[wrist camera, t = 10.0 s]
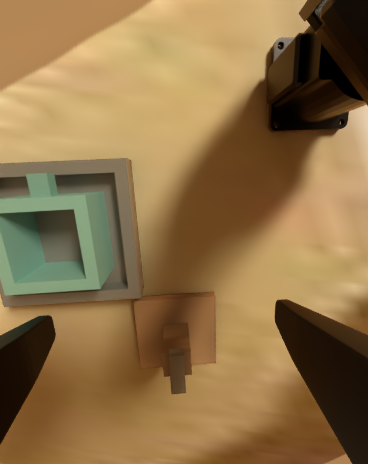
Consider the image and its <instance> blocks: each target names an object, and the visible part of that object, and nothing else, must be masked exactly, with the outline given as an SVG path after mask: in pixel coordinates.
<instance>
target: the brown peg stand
mask: <svg viewBox="0 0 368 464" xmlns="http://www.w3.org/2000/svg"><path fill="white" fill-rule="evenodd" d="M133 305H134V314H135V323H136V331H137V340H138V349H139V357H140V366H141V369H144V368H157V367H163V370H164V377H166V376H170V380H171V393H172V394H180V393H186V387H185V375H192V369H191V365H197V364H210V363H216V317H215V294H214V292H204V293H189V294H173V295H158V296H142V297H141V298H136V299H134V300H133Z"/></svg>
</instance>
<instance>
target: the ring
mask: <svg viewBox="0 0 368 464" xmlns="http://www.w3.org/2000/svg"><path fill="white" fill-rule="evenodd" d="M26 178H27V182H28V186H29V191H30V196H16V197H7V198H0V280H1V283H2V287H3V290H4V294H5V296H6V295H21V294H36V293H50V292H65V291H79V290H94V289H101V287H102V286H103V284H104V283H105V281H106V280H107V278H108V277H109V275H110V274H111V272H112V271H113V269H114V261H113V254H112V247H111V240H110V232H109V225H108V218H107V211H106V204H105V197H104V192H85V193H67V194H58V191H57V186H56V181H55V176H54V173H37V174H26ZM69 209H74V213H75V218H76V224H77V230H78V235H79V241H80V246H81V252H82V258H83V261H68V262H52V263H46V262H45V257H44V253H43V248H42V244H41V239H40V235H39V230H38V226H37V221H36V217H35V212H34V211H51V210H69Z"/></svg>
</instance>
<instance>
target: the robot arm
mask: <svg viewBox="0 0 368 464" xmlns="http://www.w3.org/2000/svg"><path fill="white" fill-rule="evenodd" d="M299 15H300V16H301V17H302V19H303V20H304V21H306V20H307V21H308V23H309V24H310V26H309V27H308V29H307V30H306V31H305V32H304V33H299V34H298V35H297V36H296V37H294V38H279V39H278V40H276V42H275V43H274V45H273V47H272V62H271V66H270V67H269V69H268V89H267V103H268V105H269V130H270V131H271V132H291V131H316V130H338V129H342V128H344V127H345V126H346V125H347V122H348V114H349V111H351V110H354V109H356V108H359V107H361V106H364V105H368V0H307V2H306V3H305V5H304V6H303V8H302V9H301V11H300V12H299ZM278 45H281V47H282V49H281V50H280V49H279V48H278ZM339 120H340V121H341V125H339ZM274 122H275V123H277V128H275V127H274ZM275 323H276V325H277V327H278V330H279V332H280V334H281V336H282V339H283V341H284V343H285V345H286V347H287V350H288V352H289V354H290V356H291V358H292V360H293V362H294V364H295V366H296V367H297V369H298V371H299V373H300V374H301V376H302V378H303V379H304V381H305V383H306V385H307V386H308V388H309V390H310V392H311V393H312V395H313V397H314V398H315V400H316V402H317V404H318V405H319V407H320V409H321V411H322V412H323V414H324V416H325V418H326V419H327V421H328V423H329V424H330V426H331V428H332V430H333V431H334V433H335V435H336V437H337V438H338V440H339V442H340V443H341V445H342V447H343V449H344V450H345V452H346V454H347V455H348V457H349V459H350V461H351V462H352V464H368V335H366V334H364V333H362V332H360V331H357V330H355V329H353V328H351V327H348V326H346V325H344V324H342V323H339V322H337V321H335V320H333V319H330V318H328V317H326V316H324V315H321V314H319V313H317V312H314V311H312V310H310V309H308V308H305V307H303V306H301V305H299V304H296V303H294V302H292V301H290V300H287V299H283V300H277V301H276V305H275ZM55 336H56V333H55V328H54V324H53V319H52V317H51V316H49V315H46V316H38V317H36V318H34V319H32V320H30V321H28V322H26V323H24V324H22V325H20V326H18V327H16V328H14V329H12V330H10V331H8V332H6V333H5V334H3V335H1V336H0V444H1V443H2V441H3V439H4V437H5V435H6V434H7V432H8V430H9V428H10V427H11V425H12V423H13V421H14V419H15V418H16V416H17V414H18V412H19V410H20V409H21V407H22V405H23V403H24V402H25V400H26V398H27V396H28V394H29V393H30V391H31V389H32V387H33V385H34V384H35V382H36V380H37V378H38V376H39V374H40V371H41V369H42V367H43V365H44V362H45V360H46V358H47V356H48V354H49V351H50V349H51V347H52V345H53V342H54V340H55Z"/></svg>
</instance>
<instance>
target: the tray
mask: <svg viewBox="0 0 368 464" xmlns="http://www.w3.org/2000/svg"><path fill="white" fill-rule="evenodd" d="M37 173H54V176H55V181H56V186H57V191H58V194H67V193H85V192H104V197H105V204H106V211H107V218H108V225H109V232H110V240H111V247H112V254H113V261H114V269H113V271H112V272H111V274H110V275H109V277H108V278H107V280H106V281H105V283H104V284H103V286H102V287H101V289H94V290H79V291H65V292H50V293H36V294H21V295H6V296H5V294H4V290H3V287H2V283H1V280H0V294H1V298H2V301H3V305H4V307H13V306H29V305H44V304H59V303H75V302H90V301H106V300H121V299H136V298H141V295H142V291H143V288H144V286H143V276H142V266H141V256H140V246H139V236H138V226H137V216H136V206H135V196H134V186H133V176H132V166H131V160H129V159H126V158H120V159H97V160H74V161H50V162H27V163H3V164H0V198H7V197H16V196H30V191H29V186H28V182H27V178H26V174H37ZM34 212H35V217H36V221H37V226H38V230H39V235H40V239H41V244H42V248H43V253H44V257H45V262H46V263H52V262H68V261H83V258H82V252H81V246H80V241H79V235H78V230H77V224H76V218H75V213H74V209H69V210H51V211H34Z"/></svg>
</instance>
